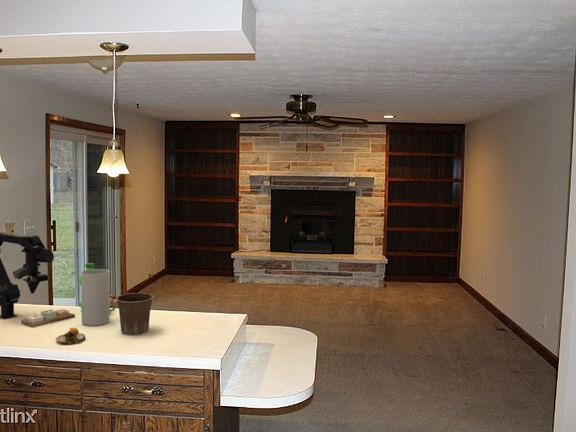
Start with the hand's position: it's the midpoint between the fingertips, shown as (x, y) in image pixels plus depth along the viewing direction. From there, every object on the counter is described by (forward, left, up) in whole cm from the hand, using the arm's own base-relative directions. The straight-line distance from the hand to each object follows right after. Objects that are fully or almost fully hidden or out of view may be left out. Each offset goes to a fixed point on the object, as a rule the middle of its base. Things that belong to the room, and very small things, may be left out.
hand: (32, 293), depth 241 cm
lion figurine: (+17, +31, -13) cm, 37 cm away
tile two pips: (+7, +4, -11) cm, 14 cm away
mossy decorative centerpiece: (+41, -6, -14) cm, 44 cm away
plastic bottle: (+8, +26, -13) cm, 30 cm away
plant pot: (+52, +19, -13) cm, 57 cm away
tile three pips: (+7, +11, -13) cm, 18 cm away
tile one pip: (+7, -2, -13) cm, 15 cm away
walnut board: (+7, +4, -13) cm, 15 cm away
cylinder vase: (+27, +16, -13) cm, 34 cm away
